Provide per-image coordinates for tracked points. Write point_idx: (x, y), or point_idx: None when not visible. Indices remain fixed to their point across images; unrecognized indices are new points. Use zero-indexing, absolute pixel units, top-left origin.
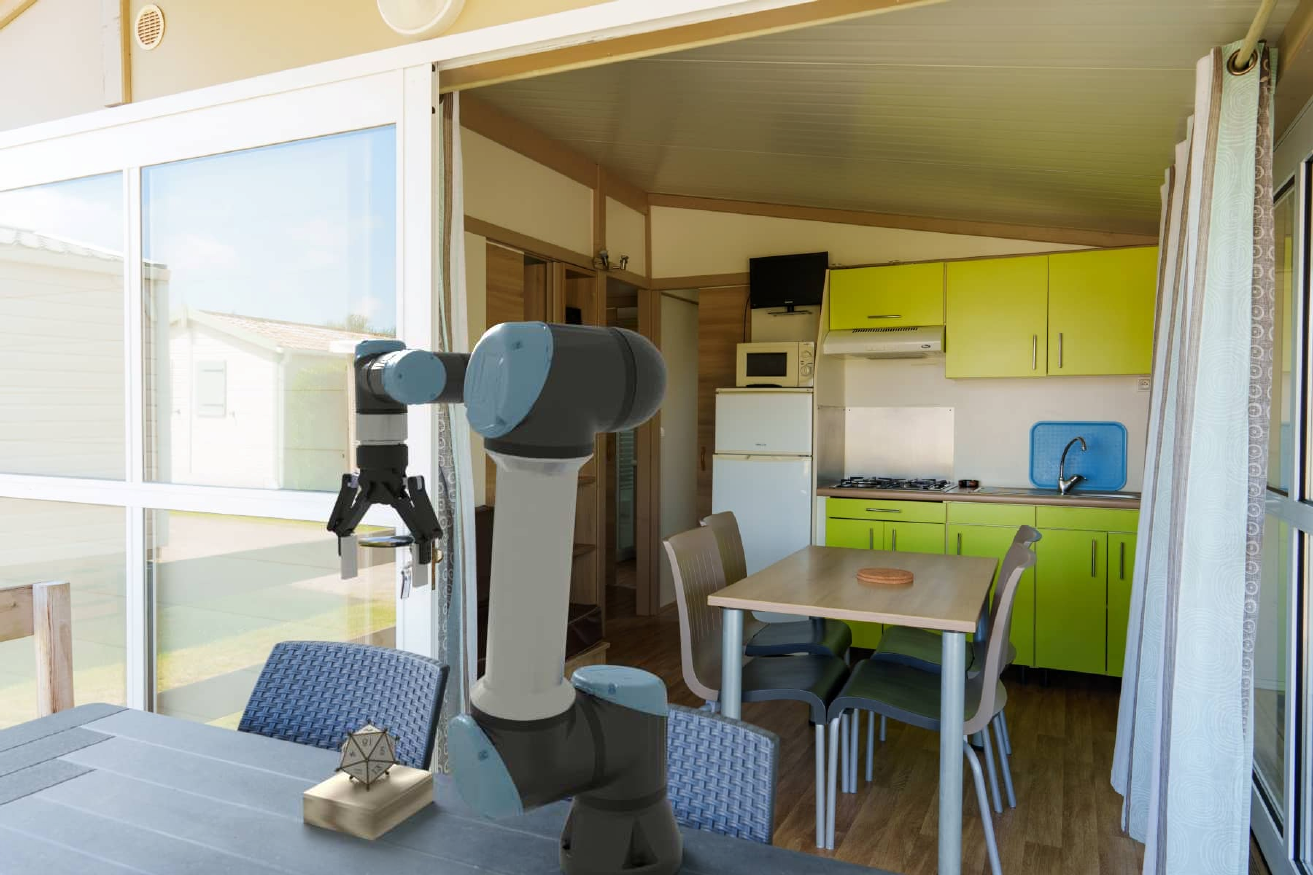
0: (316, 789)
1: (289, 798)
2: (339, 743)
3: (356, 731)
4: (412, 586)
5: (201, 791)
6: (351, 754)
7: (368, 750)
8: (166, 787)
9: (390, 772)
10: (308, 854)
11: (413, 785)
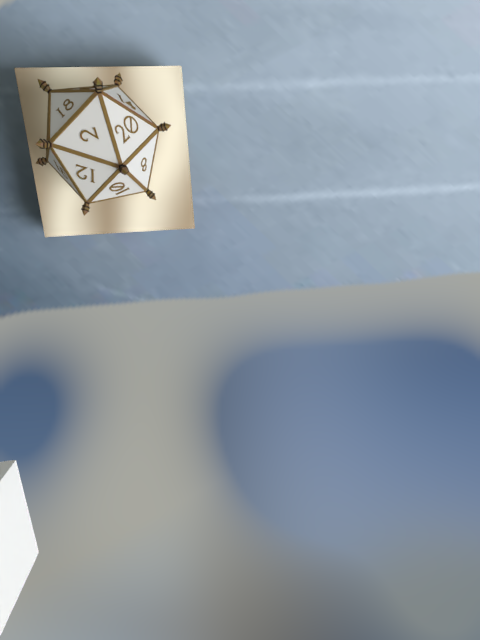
0: (170, 87)
1: (266, 135)
2: (163, 125)
3: (103, 113)
4: (10, 462)
5: (408, 89)
6: (91, 88)
7: (55, 101)
8: (468, 73)
9: (112, 202)
10: (87, 4)
11: (35, 182)
